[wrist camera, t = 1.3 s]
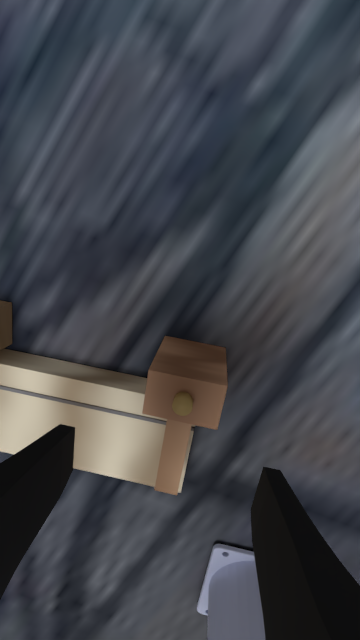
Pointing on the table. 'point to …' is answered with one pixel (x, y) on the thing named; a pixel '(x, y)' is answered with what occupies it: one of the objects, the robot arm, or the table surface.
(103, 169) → the table surface
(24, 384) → the board
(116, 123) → the table surface
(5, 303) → the block
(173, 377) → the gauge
